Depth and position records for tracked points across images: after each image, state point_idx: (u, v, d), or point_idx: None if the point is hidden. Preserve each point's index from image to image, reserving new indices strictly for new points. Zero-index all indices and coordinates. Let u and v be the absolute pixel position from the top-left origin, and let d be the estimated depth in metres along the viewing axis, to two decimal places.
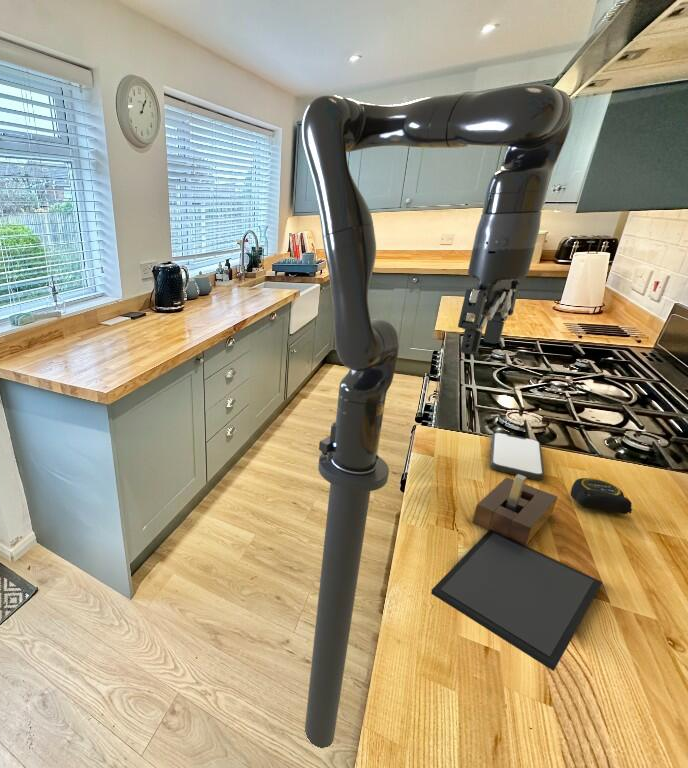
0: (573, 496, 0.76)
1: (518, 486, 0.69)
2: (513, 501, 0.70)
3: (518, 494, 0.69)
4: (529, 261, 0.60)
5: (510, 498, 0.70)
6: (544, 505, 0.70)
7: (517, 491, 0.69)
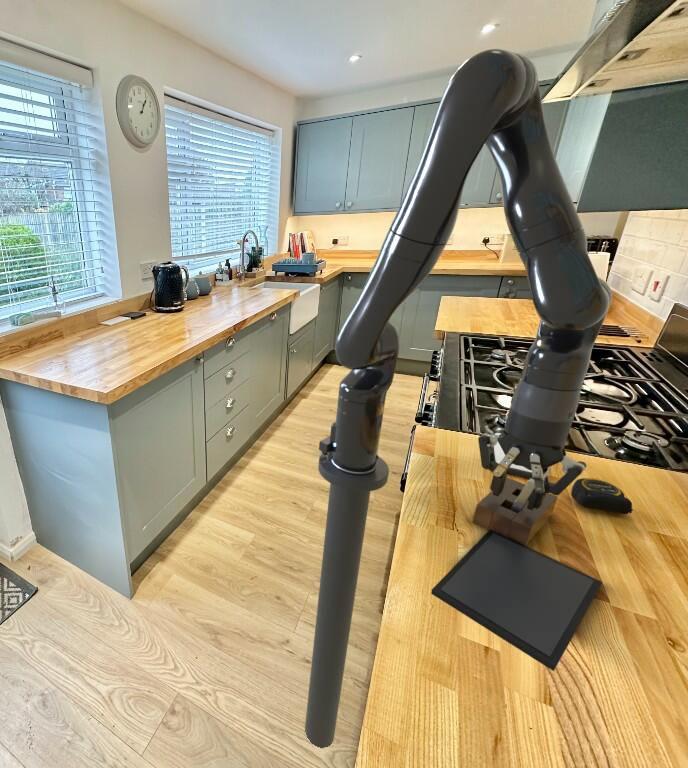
0: (573, 496, 0.76)
1: (528, 490, 0.68)
2: (519, 504, 0.69)
3: (527, 498, 0.68)
4: (528, 429, 0.63)
5: (517, 500, 0.69)
6: (544, 505, 0.70)
7: (526, 495, 0.68)
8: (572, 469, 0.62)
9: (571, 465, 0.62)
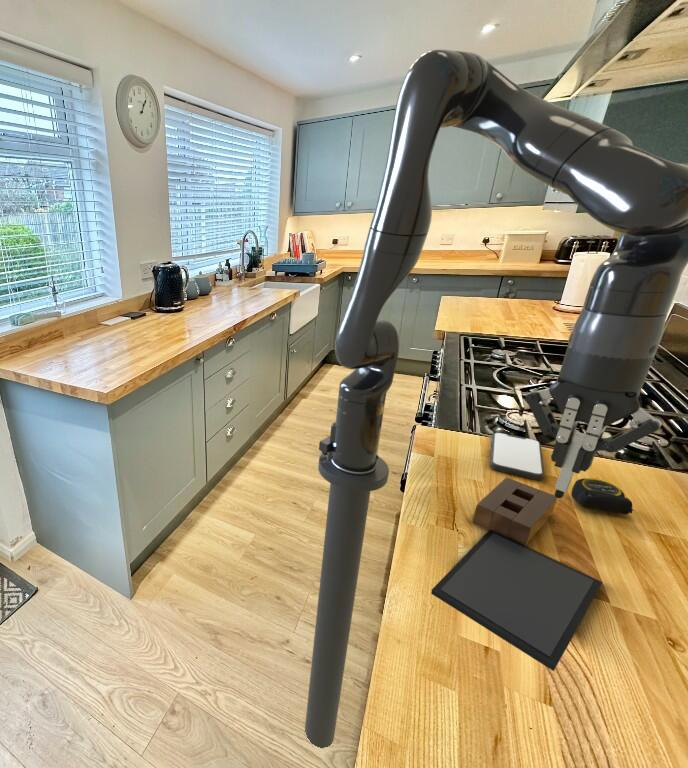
0: (574, 496, 0.76)
1: (577, 446, 0.56)
2: (569, 466, 0.57)
3: None
4: (594, 371, 0.50)
5: (566, 462, 0.57)
6: (544, 505, 0.70)
7: (576, 452, 0.56)
8: (646, 424, 0.49)
9: (645, 419, 0.49)
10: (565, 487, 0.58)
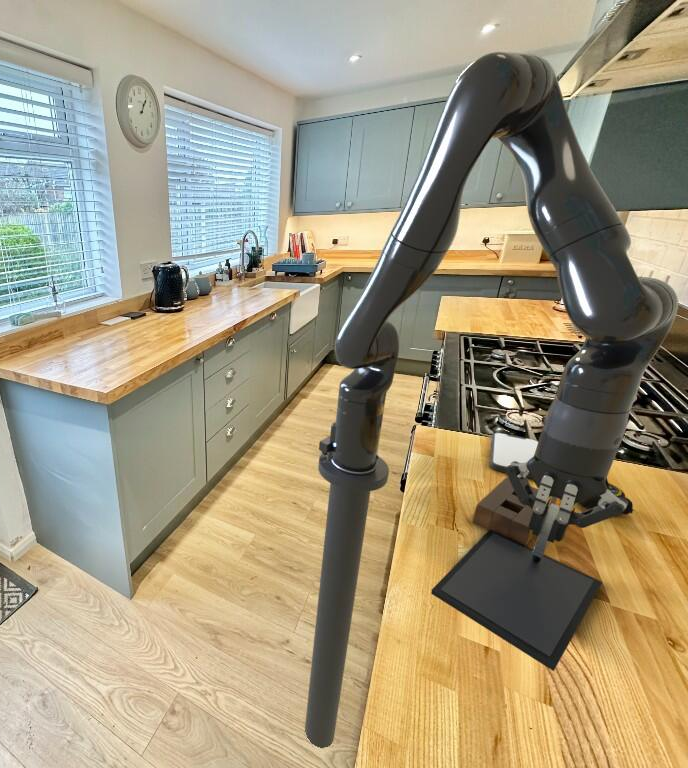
0: None
1: (552, 517, 0.60)
2: (545, 535, 0.61)
3: None
4: (565, 456, 0.54)
5: (542, 531, 0.61)
6: None
7: (551, 523, 0.60)
8: (612, 507, 0.53)
9: (611, 501, 0.54)
10: (541, 553, 0.62)
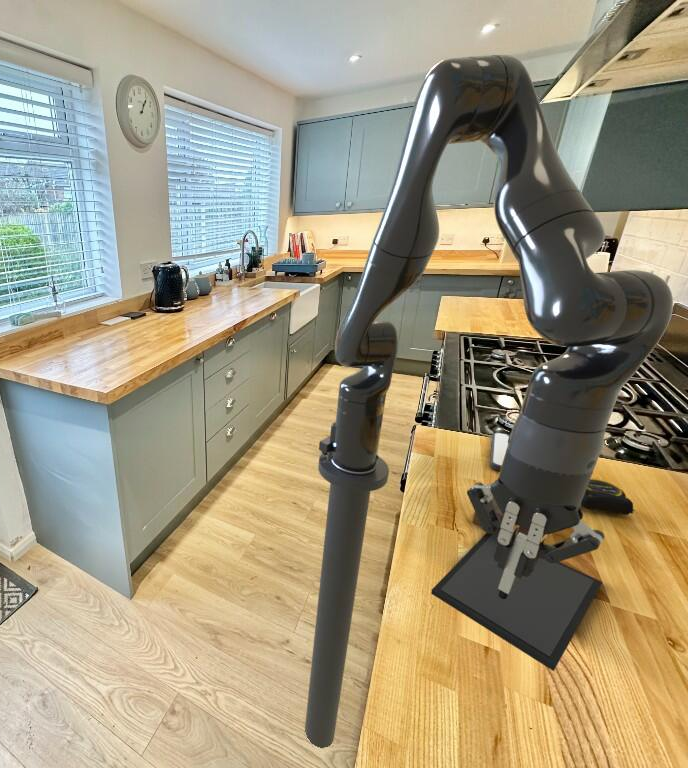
0: None
1: (519, 549, 0.52)
2: (512, 568, 0.53)
3: None
4: (531, 481, 0.46)
5: (508, 564, 0.53)
6: None
7: (518, 555, 0.52)
8: (586, 541, 0.45)
9: (585, 534, 0.46)
10: (508, 589, 0.54)
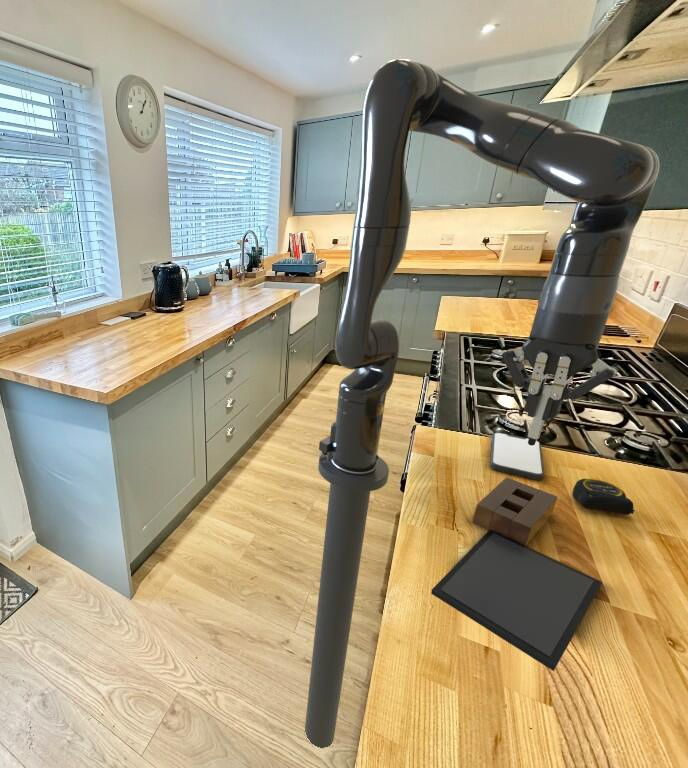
0: (575, 497, 0.76)
1: (546, 397, 0.63)
2: (540, 415, 0.64)
3: None
4: (558, 326, 0.57)
5: (537, 412, 0.64)
6: (544, 505, 0.70)
7: (545, 403, 0.63)
8: (603, 372, 0.56)
9: (602, 368, 0.57)
10: (536, 435, 0.65)
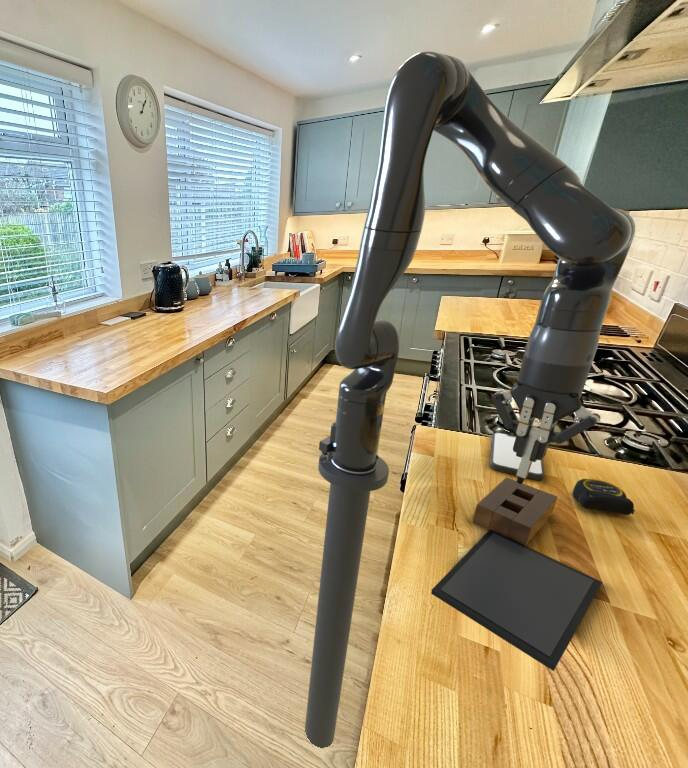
0: (575, 497, 0.76)
1: (533, 438, 0.66)
2: (528, 456, 0.67)
3: None
4: (543, 375, 0.60)
5: (525, 453, 0.67)
6: (544, 505, 0.70)
7: (533, 444, 0.66)
8: (586, 420, 0.59)
9: (585, 416, 0.59)
10: (525, 474, 0.68)
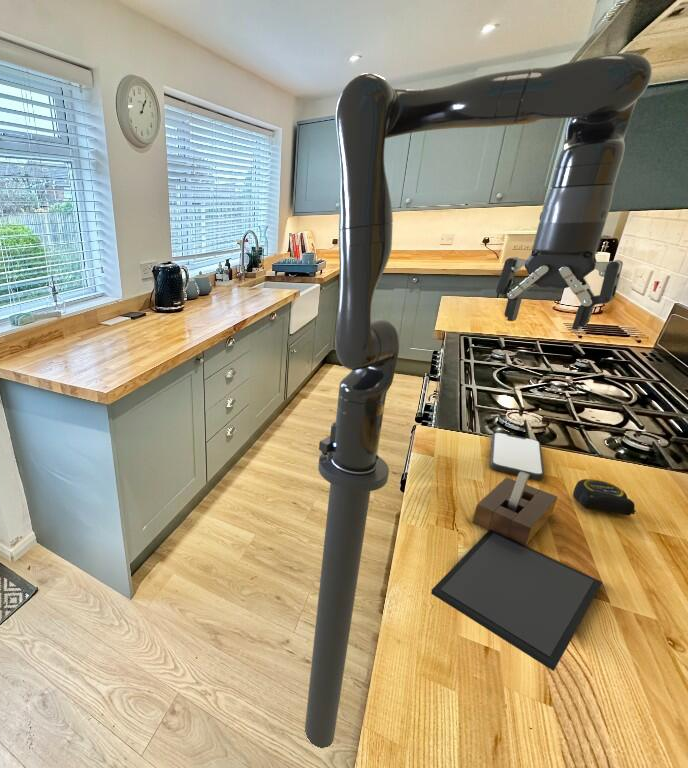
0: (576, 497, 0.76)
1: (521, 482, 0.69)
2: (515, 499, 0.70)
3: (521, 491, 0.70)
4: (558, 236, 0.62)
5: (512, 496, 0.71)
6: (544, 505, 0.70)
7: (520, 488, 0.70)
8: (608, 267, 0.60)
9: (606, 265, 0.61)
10: None
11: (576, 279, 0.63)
